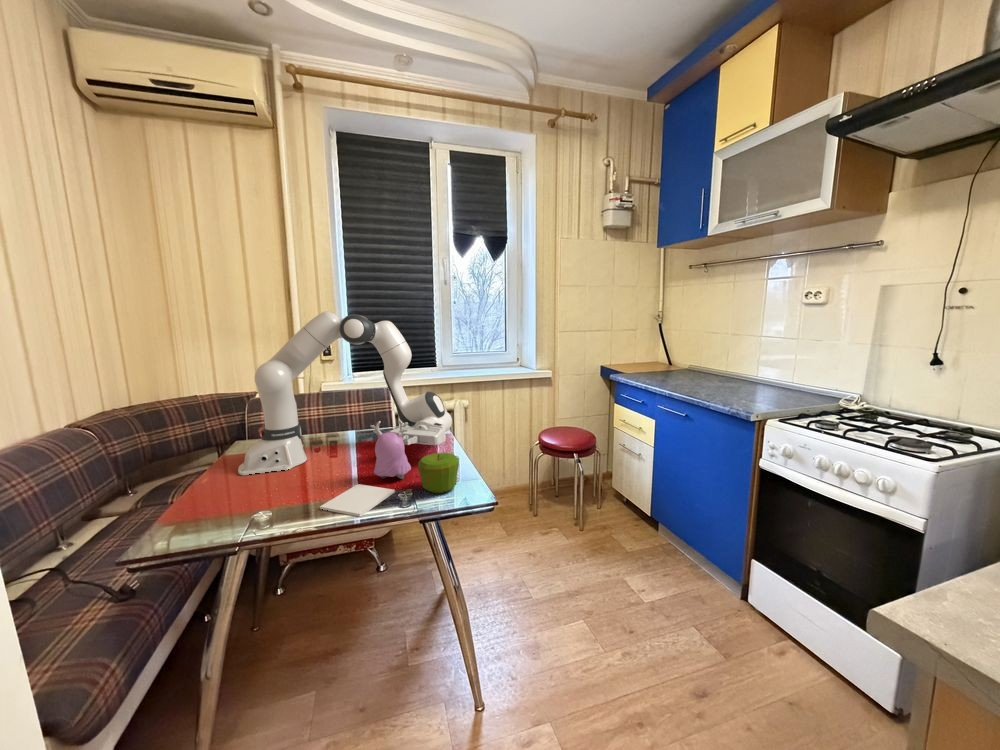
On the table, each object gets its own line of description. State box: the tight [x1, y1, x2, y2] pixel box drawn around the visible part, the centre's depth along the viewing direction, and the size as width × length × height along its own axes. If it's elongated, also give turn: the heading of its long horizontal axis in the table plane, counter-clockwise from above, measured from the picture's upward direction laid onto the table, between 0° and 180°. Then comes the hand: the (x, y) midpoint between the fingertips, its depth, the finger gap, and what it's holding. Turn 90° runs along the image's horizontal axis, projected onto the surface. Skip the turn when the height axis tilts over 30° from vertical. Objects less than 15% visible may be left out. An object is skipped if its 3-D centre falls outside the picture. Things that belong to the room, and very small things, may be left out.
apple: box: [417, 452, 460, 494], centre depth 128 cm, size 12×12×11 cm
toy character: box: [370, 419, 412, 480], centre depth 137 cm, size 12×10×20 cm
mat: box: [319, 483, 396, 517], centre depth 122 cm, size 16×14×1 cm
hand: (404, 442), depth 144 cm, fingers closed
